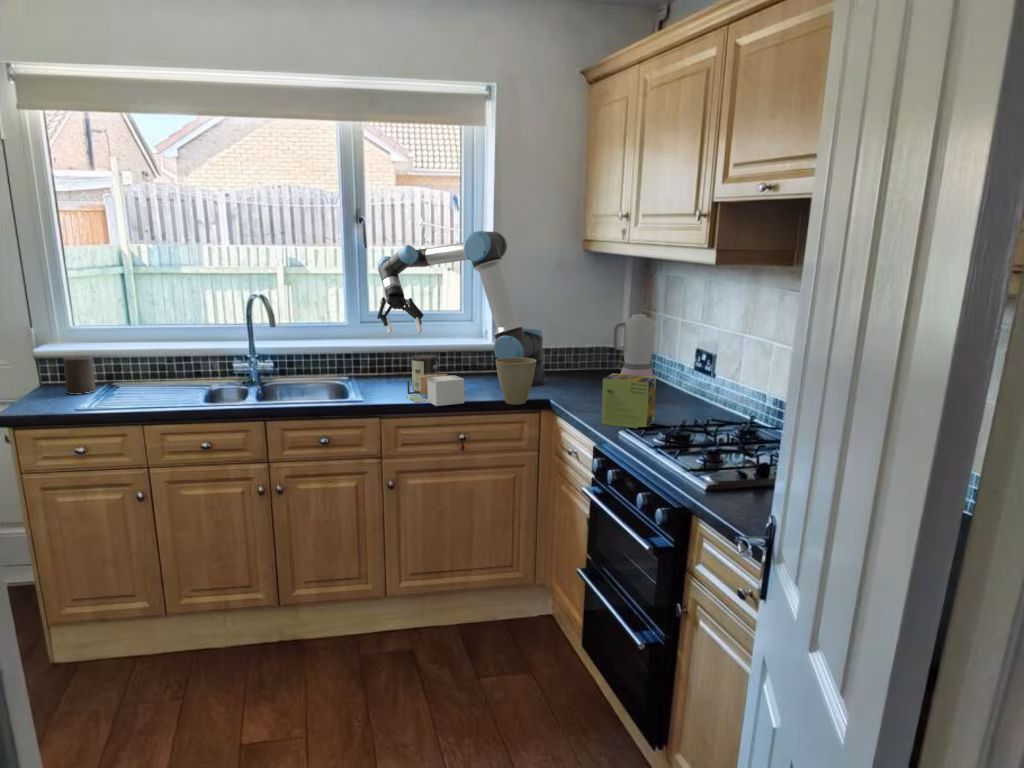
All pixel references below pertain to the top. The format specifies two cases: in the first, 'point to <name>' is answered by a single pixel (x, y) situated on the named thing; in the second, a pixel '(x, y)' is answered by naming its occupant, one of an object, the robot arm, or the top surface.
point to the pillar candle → (79, 374)
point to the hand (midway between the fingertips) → (405, 332)
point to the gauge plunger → (423, 384)
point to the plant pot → (515, 378)
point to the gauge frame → (443, 391)
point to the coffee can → (423, 368)
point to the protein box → (628, 400)
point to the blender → (636, 344)
